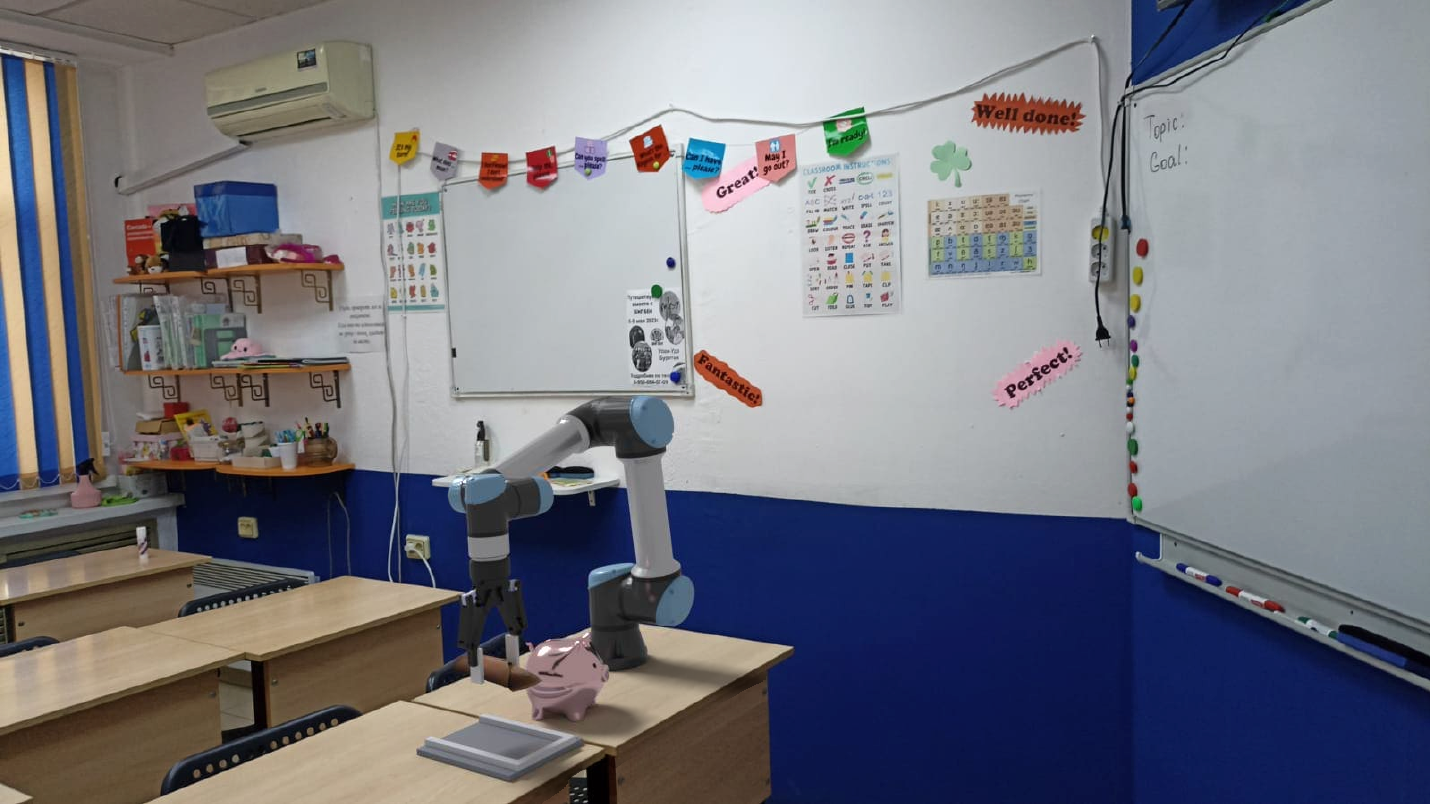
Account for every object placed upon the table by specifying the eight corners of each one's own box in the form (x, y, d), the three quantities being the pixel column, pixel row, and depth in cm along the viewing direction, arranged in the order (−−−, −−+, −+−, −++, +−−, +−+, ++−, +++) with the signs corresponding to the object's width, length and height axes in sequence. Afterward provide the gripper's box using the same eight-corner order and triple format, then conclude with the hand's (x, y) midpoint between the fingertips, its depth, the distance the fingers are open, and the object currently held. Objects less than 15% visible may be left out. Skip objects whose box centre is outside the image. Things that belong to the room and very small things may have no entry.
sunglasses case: (545, 678, 183) (529, 652, 180) (520, 707, 178) (503, 681, 175) (488, 662, 195) (472, 637, 192) (463, 688, 190) (446, 664, 187)
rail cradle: (492, 720, 201) (491, 710, 201) (583, 743, 187) (582, 732, 187) (416, 754, 185) (415, 742, 185) (509, 781, 171) (509, 769, 171)
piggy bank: (597, 726, 195) (593, 647, 194) (513, 723, 199) (508, 646, 198) (620, 699, 210) (616, 626, 209) (541, 697, 214) (537, 625, 213)
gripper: (516, 545, 195) (522, 657, 196) (431, 566, 178) (438, 689, 179) (543, 547, 191) (549, 662, 192) (459, 569, 173) (466, 696, 174)
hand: (495, 675), depth 185 cm, fingers closed on sunglasses case, 8 cm apart
